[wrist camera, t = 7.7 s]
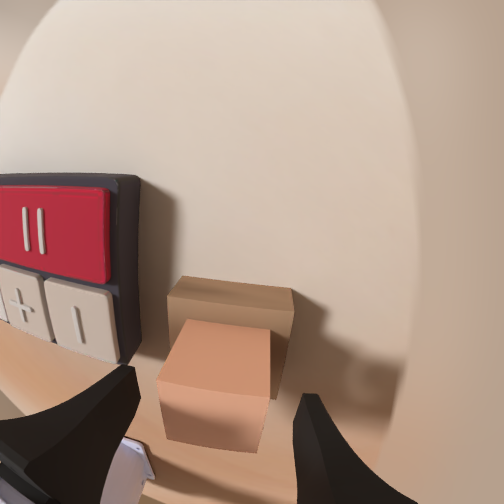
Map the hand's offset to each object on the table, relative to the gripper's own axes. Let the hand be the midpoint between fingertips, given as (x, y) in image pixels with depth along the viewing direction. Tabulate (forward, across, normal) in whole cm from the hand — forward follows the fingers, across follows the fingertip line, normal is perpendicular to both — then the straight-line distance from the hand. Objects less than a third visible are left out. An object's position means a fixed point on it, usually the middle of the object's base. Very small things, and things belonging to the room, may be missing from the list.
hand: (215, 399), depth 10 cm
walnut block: (+6, 0, 0) cm, 6 cm away
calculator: (+6, +13, -3) cm, 15 cm away
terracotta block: (+3, 0, 0) cm, 3 cm away
